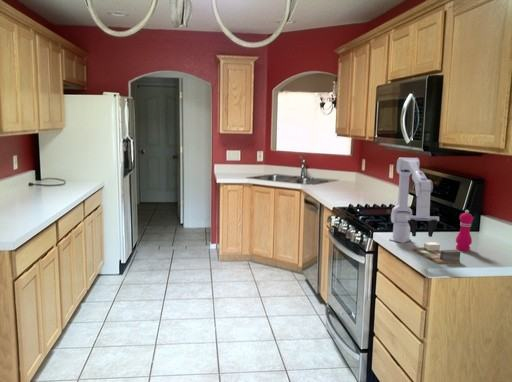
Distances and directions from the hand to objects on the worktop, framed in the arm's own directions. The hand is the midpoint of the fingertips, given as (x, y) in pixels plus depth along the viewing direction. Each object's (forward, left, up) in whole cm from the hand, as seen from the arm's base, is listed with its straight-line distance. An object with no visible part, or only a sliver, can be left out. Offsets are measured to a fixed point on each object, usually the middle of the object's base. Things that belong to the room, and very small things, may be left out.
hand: (422, 236), depth 203 cm
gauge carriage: (-13, -2, -9) cm, 16 cm away
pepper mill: (-32, +8, -11) cm, 34 cm away
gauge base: (-10, +3, -11) cm, 15 cm away
